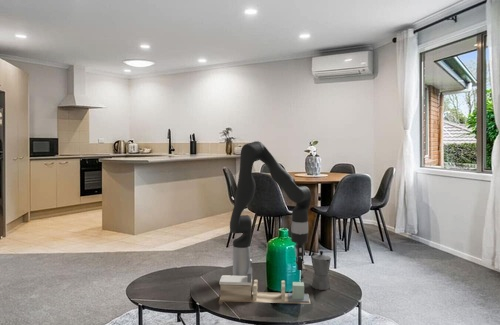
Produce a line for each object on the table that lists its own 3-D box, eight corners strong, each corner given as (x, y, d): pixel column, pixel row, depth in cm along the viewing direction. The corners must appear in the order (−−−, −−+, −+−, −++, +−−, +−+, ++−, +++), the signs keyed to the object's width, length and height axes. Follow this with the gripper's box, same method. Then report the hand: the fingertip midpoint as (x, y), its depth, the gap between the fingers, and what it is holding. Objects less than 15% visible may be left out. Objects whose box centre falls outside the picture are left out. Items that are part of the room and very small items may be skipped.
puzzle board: (222, 294, 186) (222, 277, 186) (308, 296, 183) (308, 279, 183) (218, 304, 174) (218, 286, 174) (310, 307, 171) (310, 289, 171)
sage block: (292, 294, 180) (292, 281, 180) (303, 295, 180) (303, 282, 180) (292, 299, 175) (292, 285, 175) (304, 299, 175) (304, 286, 175)
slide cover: (222, 277, 184) (222, 266, 184) (252, 278, 183) (252, 267, 183) (219, 284, 175) (219, 272, 175) (250, 285, 174) (251, 273, 174)
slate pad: (287, 294, 183) (287, 293, 182) (307, 294, 182) (307, 293, 182) (288, 301, 174) (288, 300, 174) (309, 302, 173) (309, 301, 173)
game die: (301, 282, 214) (312, 267, 215) (298, 281, 206) (309, 265, 207) (288, 271, 218) (299, 257, 219) (284, 270, 210) (295, 255, 211)
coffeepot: (336, 290, 192) (337, 253, 192) (320, 292, 189) (320, 255, 188) (319, 280, 207) (319, 246, 206) (303, 282, 203) (303, 247, 202)
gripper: (290, 227, 184) (290, 261, 185) (292, 234, 170) (291, 271, 171) (306, 227, 184) (306, 262, 184) (309, 235, 169) (308, 272, 170)
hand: (299, 266), depth 178 cm, fingers open, 8 cm apart
